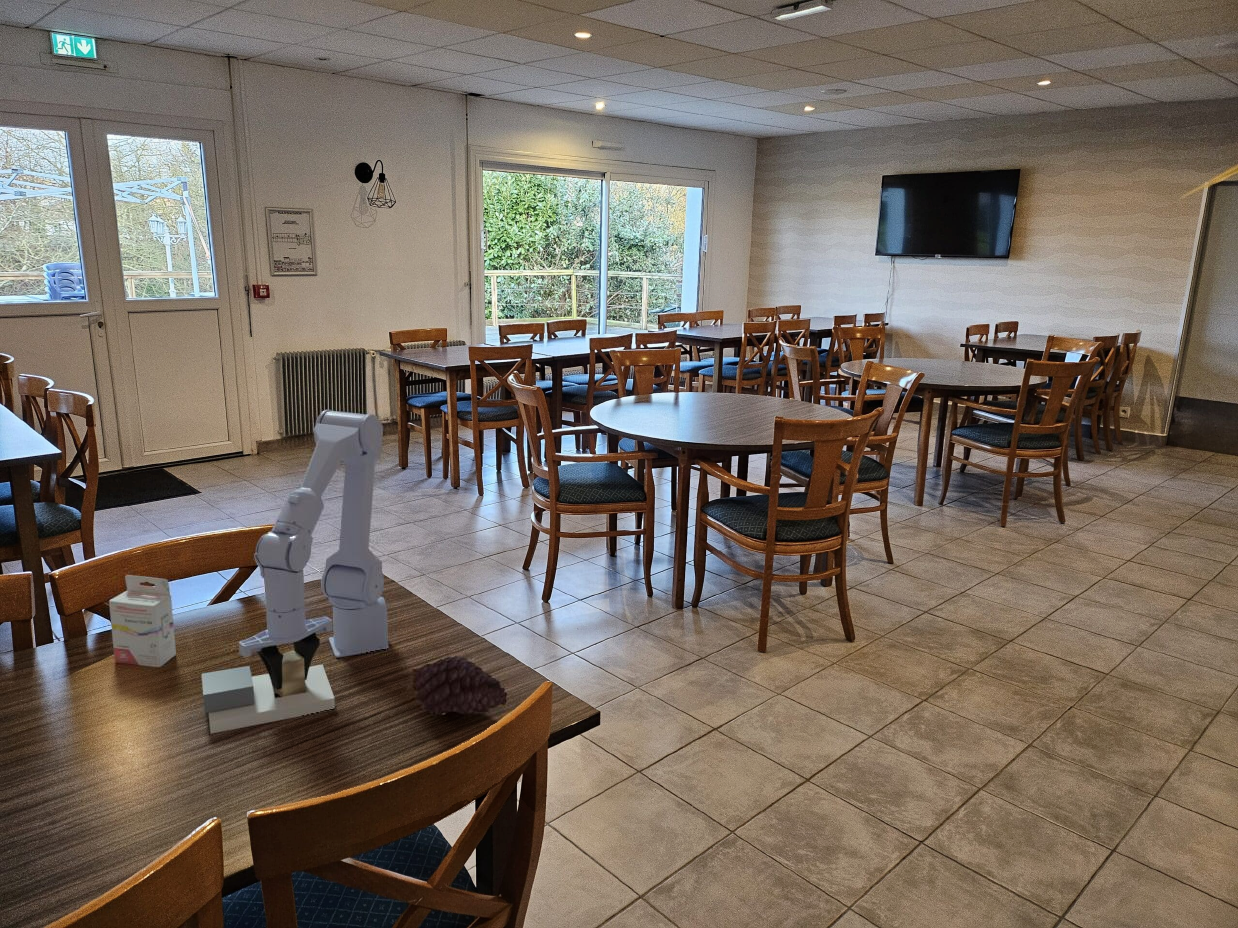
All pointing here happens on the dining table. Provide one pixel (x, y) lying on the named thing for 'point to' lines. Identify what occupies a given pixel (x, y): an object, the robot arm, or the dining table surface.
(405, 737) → the dining table surface
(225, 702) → the grey cover
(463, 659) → the pine cone
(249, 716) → the socket plate
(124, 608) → the ink cartridge box
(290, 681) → the maple peg
